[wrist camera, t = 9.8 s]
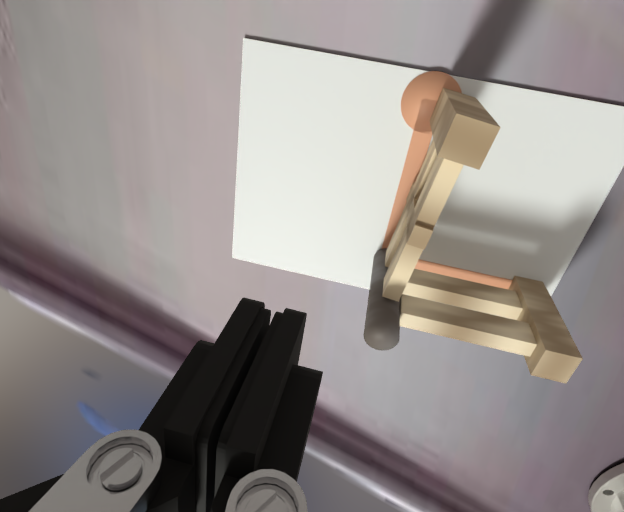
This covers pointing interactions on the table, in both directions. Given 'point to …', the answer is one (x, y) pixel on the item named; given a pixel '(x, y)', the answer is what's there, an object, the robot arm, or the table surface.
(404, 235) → the fence gate
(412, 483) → the table surface
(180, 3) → the table surface
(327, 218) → the card
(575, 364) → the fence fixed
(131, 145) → the table surface
